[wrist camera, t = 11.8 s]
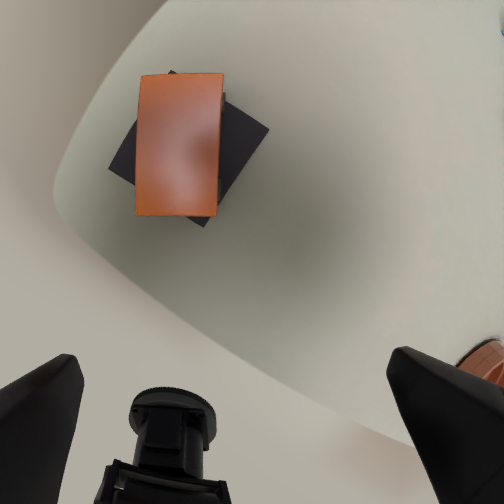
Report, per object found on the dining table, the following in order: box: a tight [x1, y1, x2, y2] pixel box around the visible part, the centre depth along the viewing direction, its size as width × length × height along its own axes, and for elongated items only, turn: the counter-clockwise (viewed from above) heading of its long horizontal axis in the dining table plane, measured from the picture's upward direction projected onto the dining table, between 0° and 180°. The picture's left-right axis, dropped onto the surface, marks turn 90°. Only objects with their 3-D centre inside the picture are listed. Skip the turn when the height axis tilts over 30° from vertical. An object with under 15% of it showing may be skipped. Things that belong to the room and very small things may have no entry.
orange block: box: [135, 73, 225, 217], centre depth 14 cm, size 7×4×3 cm, turn 177°
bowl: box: [458, 340, 504, 387], centre depth 25 cm, size 13×13×4 cm
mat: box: [108, 70, 269, 227], centre depth 16 cm, size 7×7×1 cm
